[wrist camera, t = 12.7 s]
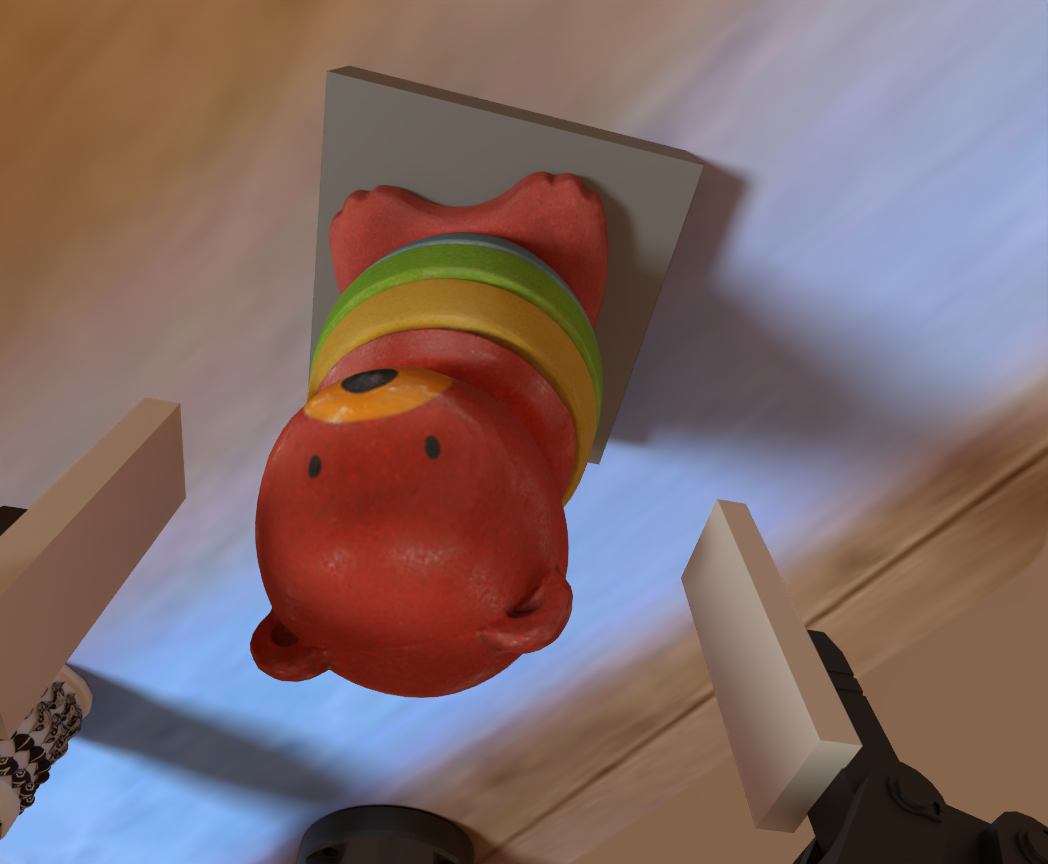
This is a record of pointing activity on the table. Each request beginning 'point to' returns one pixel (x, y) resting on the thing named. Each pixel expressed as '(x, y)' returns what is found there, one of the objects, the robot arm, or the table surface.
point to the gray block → (493, 168)
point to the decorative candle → (40, 743)
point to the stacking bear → (437, 441)
